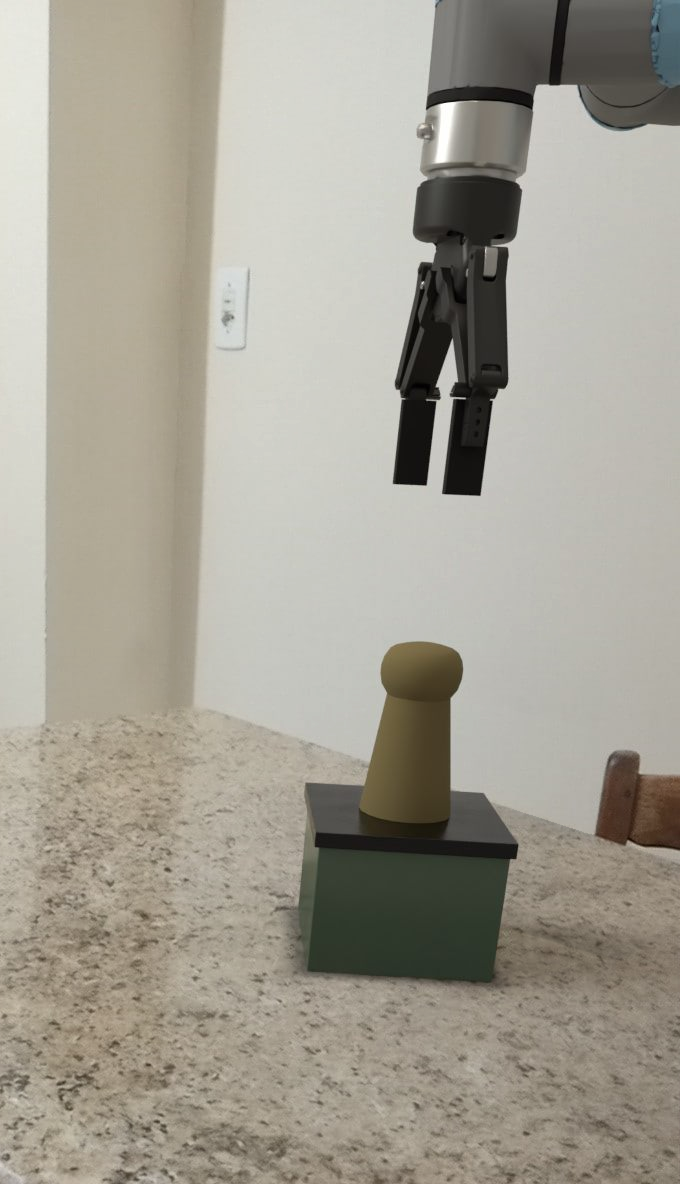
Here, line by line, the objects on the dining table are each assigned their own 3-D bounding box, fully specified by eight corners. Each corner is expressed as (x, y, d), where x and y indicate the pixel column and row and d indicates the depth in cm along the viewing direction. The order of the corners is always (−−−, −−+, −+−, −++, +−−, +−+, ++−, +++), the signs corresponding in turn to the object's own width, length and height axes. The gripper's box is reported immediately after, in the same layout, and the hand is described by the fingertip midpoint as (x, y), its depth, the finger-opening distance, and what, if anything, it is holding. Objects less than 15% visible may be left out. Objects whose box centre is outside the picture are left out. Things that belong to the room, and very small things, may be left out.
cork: (419, 829, 88) (441, 654, 83) (341, 808, 91) (358, 640, 87) (467, 812, 92) (491, 646, 88) (391, 793, 95) (409, 633, 91)
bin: (465, 918, 101) (483, 792, 97) (497, 985, 89) (519, 844, 85) (293, 908, 101) (305, 782, 98) (302, 972, 89) (315, 832, 86)
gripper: (375, 200, 111) (348, 479, 118) (475, 147, 88) (434, 497, 95) (466, 206, 111) (433, 483, 119) (588, 155, 88) (538, 502, 96)
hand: (433, 490), depth 107 cm, fingers open, 13 cm apart
